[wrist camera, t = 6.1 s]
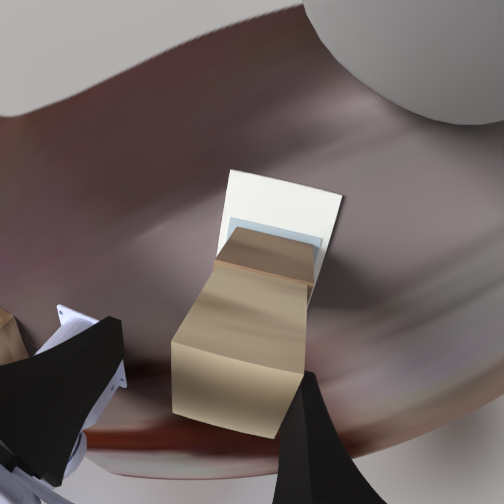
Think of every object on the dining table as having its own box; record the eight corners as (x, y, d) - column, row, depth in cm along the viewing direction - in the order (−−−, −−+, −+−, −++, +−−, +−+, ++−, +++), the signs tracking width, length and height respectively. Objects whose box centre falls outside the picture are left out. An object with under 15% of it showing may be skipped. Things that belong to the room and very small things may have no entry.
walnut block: (293, 308, 21) (288, 355, 17) (225, 291, 22) (204, 334, 17) (312, 244, 19) (314, 283, 14) (236, 226, 19) (214, 259, 15)
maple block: (286, 350, 16) (273, 438, 11) (209, 331, 17) (172, 412, 11) (307, 284, 15) (303, 374, 9) (218, 263, 15) (171, 341, 10)
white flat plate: (301, 322, 22) (301, 326, 22) (210, 301, 23) (209, 304, 22) (341, 194, 18) (342, 196, 18) (231, 169, 18) (229, 170, 18)
